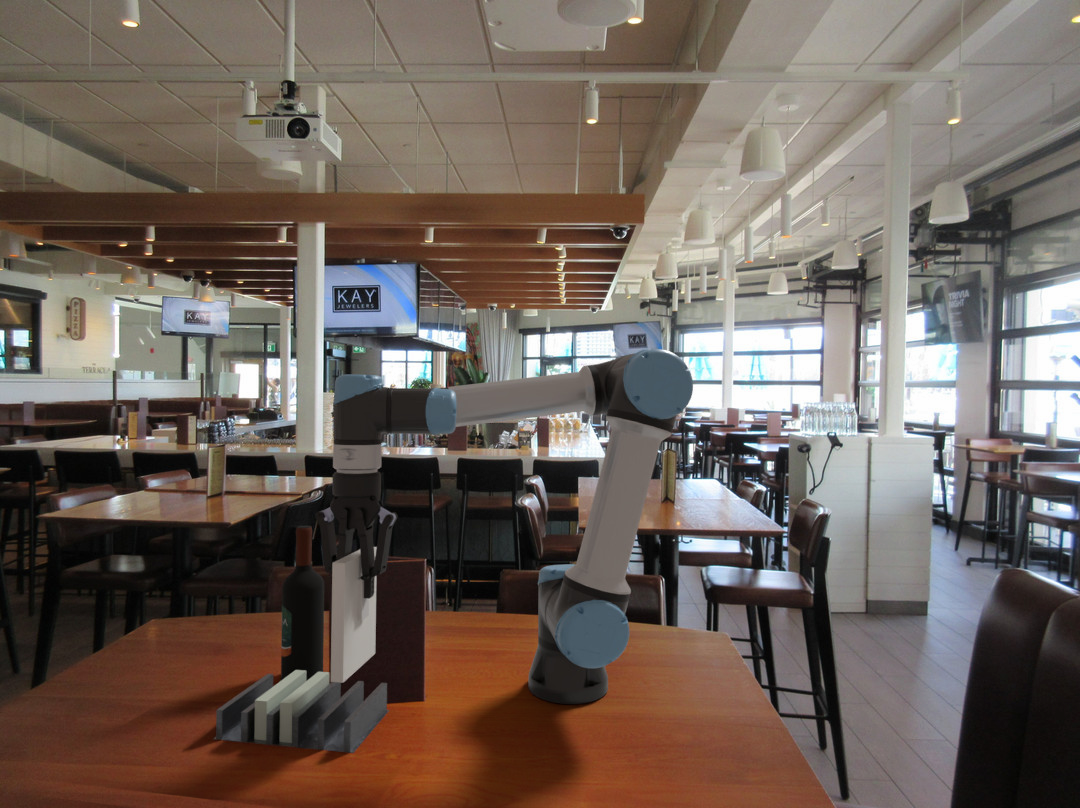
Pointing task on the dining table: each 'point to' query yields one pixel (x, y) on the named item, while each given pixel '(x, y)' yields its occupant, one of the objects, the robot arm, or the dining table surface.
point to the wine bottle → (302, 613)
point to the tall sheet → (350, 620)
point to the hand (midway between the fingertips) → (355, 617)
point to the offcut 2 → (299, 702)
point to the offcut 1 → (275, 700)
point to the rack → (307, 717)
